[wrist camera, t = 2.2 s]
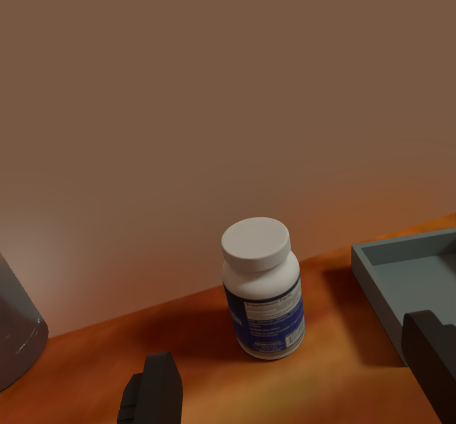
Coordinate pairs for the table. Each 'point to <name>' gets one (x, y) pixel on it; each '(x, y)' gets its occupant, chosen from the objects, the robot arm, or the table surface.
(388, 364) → the table surface
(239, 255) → the pill bottle
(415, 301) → the tray
